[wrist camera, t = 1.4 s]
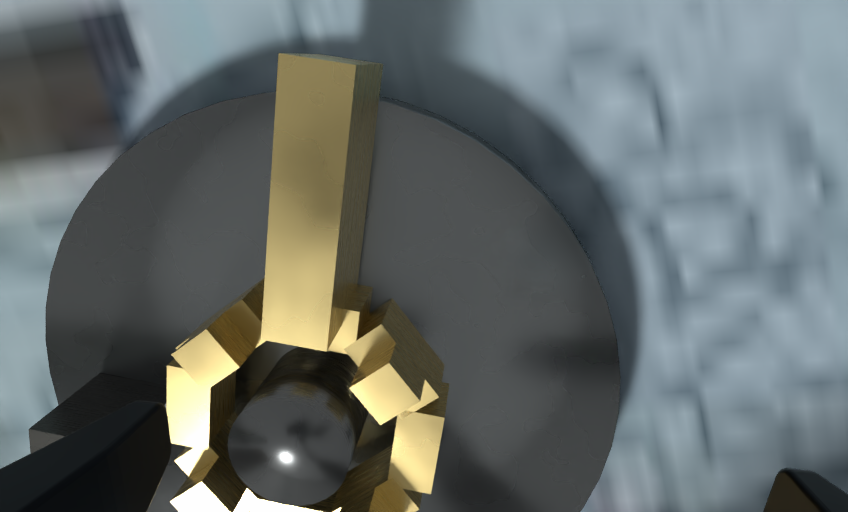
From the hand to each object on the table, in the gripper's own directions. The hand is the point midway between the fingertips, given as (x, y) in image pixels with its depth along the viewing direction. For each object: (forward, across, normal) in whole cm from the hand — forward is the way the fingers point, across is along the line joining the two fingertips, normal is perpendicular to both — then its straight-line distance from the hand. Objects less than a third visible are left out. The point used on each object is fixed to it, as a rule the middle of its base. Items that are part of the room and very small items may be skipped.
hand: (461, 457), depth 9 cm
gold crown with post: (+10, +4, +3) cm, 11 cm away
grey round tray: (+11, +5, +7) cm, 14 cm away
